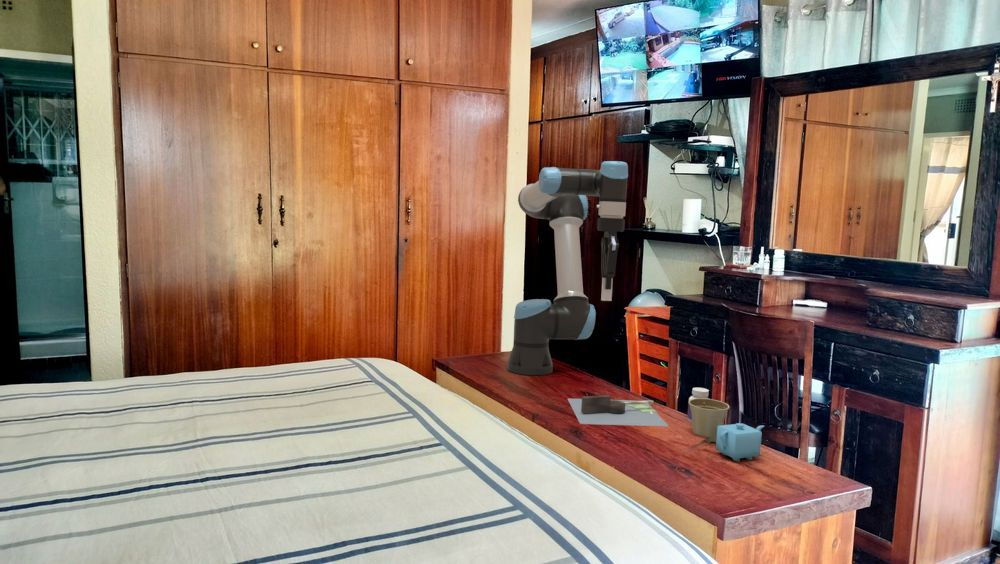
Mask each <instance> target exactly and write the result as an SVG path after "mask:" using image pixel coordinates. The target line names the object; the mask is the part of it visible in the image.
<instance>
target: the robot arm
mask: <svg viewBox="0 0 1000 564" xmlns="http://www.w3.org/2000/svg"><path fill="white" fill-rule="evenodd" d="M600 164H601V165H600V169H587V168H585V169H583V168H568V167H555V166H551V167H543V168H542V169H541V170H540V172H539V176H538V180H537V181H536V182H535V183H529V184H527V185H526V186H524V187H523V188H521V190H520V191H519V193H518V196H517V202H518V203H517V204H518V206H519V208H520V209H521V210H522V212H524V214H526V215H528V216H529V217H531V218H534V219H542V220H548V221H549V222H548V223H549V227H551V228H552V229H553V230H554V231H553V232H554V250H555V268H556V285H557V295H556V297H554V299H553V303H552V302H551V300H550V299H547V298H545V299H544V298H541V299H539V298H536V299H535V298H534V299H527V300H523V301H520V302H518V303H516V306H515V309H514V316H513V319H514V322H513V345H512V348H511V351H510V354H509V357H508V359H507V362H506V363H507V364H506V369H507V371H509V372H510V373H512V374H513V373H514V374H518V375H525V376H526V375H527V376H543V375H544V376H545V375H548V374H551V373H553V367H554V364H553V361H552V357H551V353H550V348H549V342H550V340H575V341H577V340H586V339H588V338H590V336H591V335H592V334H593V331H594V329H595V324H596V315H597V312H596V309H595V308H596V307H595V306H594V305H593V304H591V303H589V297H587V296H586V294H584V287H583V286H584V285H583V273H582V272H583V269H582V257H581V255H582V253H581V242H580V241H581V240H580V227H581V226H582V225H583V223H584V221H585V220H586V218H587V217H588V213H589V212H588V209H589V204H588V203H589V201H588V197H587V196H591V197H598V204H596V208H597V209H598V212H597V213H598V214H597V215H598V216H600V217H598V218H597V223H596V225H597V226H596V229H597V231H598V232H599V231H600V232H603V233H604V234H603V237H601V241H600V245H601V246H600V247H601V248H600V249H601V254H600V255H601V257H600V258H601V260H600V261H601V266H600V268H601V269H600V270H601V271H600V274H601V276H600V277H601V295H600V297H601V298H600V301H602V302H603V301H604V302H612V297H613V281H614V277H616V269H617V260H618V252H619V247H620V243H619V238H618V237H617V232H619V233H623V232H624V231H625V224H626V223H625V222H626V220H625V219H624V217H626V209H627V191H628V190H627V189H628V178H629V166H628V163H627V162H625V161H618V160H614V161H613V160H612V161H611V160H609V161H608V160H607V161H605V160H604V161H602V163H600Z"/></svg>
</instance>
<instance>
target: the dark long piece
mask: <svg viewBox="0 0 1000 564" xmlns="http://www.w3.org/2000/svg"><path fill="white" fill-rule="evenodd" d="M611 397H612V396H610V395H609V394H607V395H606V394H603V395H590V396H588V395H587V396H581V399H582V405H581V412H582V413H597V412H611V413H624V412H625V405H636V404H649V405H653V404H654V400H651V399H647V400H635V401H633V402H622V401H616V400H617V399H611Z"/></svg>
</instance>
